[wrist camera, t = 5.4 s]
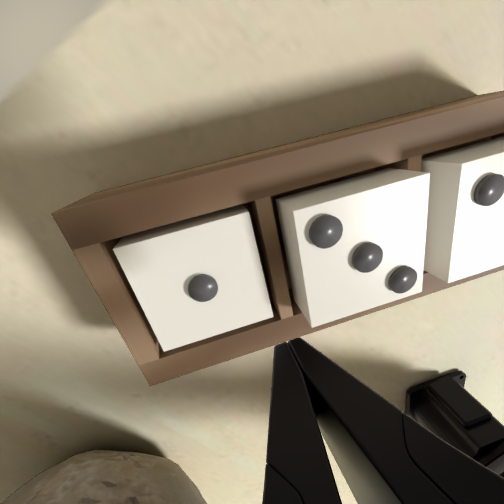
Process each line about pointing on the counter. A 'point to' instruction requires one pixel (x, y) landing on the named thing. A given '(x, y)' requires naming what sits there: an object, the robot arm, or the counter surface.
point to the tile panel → (259, 220)
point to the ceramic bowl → (110, 481)
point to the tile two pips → (465, 211)
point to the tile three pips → (355, 242)
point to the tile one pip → (197, 276)
